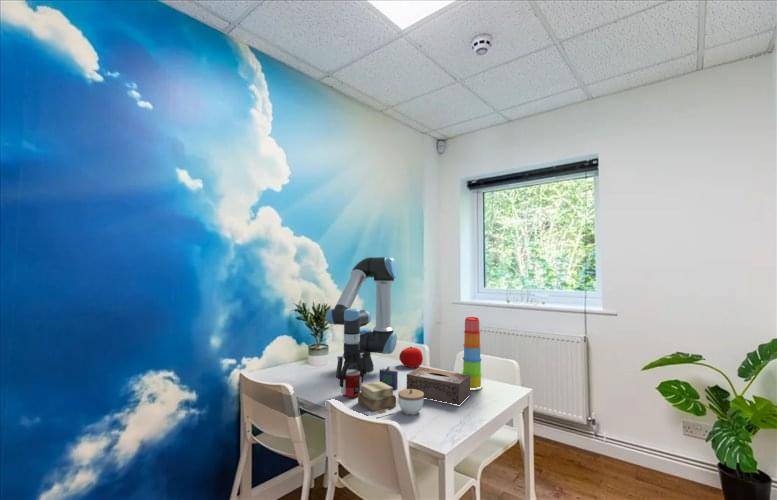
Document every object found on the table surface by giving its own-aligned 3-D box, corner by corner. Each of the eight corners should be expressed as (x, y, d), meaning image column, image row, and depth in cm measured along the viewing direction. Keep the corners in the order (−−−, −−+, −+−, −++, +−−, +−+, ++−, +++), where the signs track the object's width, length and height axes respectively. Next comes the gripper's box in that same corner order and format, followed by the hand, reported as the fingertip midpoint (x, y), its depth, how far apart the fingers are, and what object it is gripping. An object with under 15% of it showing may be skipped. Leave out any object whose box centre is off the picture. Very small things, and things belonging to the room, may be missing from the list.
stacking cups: (486, 387, 185) (485, 317, 186) (475, 392, 177) (475, 319, 178) (468, 382, 192) (468, 315, 193) (457, 387, 184) (457, 317, 185)
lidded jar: (396, 407, 158) (396, 385, 159) (421, 406, 159) (421, 384, 159) (399, 417, 148) (399, 394, 148) (426, 417, 148) (426, 393, 149)
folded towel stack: (381, 397, 169) (381, 380, 169) (396, 406, 159) (396, 387, 159) (357, 403, 162) (357, 384, 163) (372, 412, 152) (372, 393, 152)
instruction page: (384, 407, 157) (384, 407, 157) (393, 413, 152) (393, 412, 152) (363, 413, 152) (363, 412, 152) (372, 419, 146) (372, 418, 146)
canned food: (357, 399, 167) (357, 374, 167) (340, 397, 169) (340, 373, 169) (361, 393, 175) (362, 369, 175) (345, 392, 176) (345, 368, 177)
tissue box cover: (406, 395, 173) (406, 374, 173) (420, 386, 185) (420, 366, 185) (459, 407, 159) (459, 383, 160) (470, 396, 172) (470, 375, 172)
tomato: (419, 370, 212) (419, 350, 212) (397, 368, 217) (397, 348, 217) (425, 365, 223) (425, 346, 224) (403, 362, 228) (403, 344, 229)
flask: (398, 388, 182) (398, 366, 182) (396, 390, 179) (396, 368, 180) (380, 386, 185) (380, 364, 185) (378, 388, 182) (378, 366, 182)
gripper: (335, 346, 164) (334, 398, 163) (374, 341, 175) (374, 390, 174) (328, 343, 170) (327, 393, 169) (366, 338, 181) (366, 385, 181)
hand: (351, 391), depth 172 cm, fingers closed on canned food, 8 cm apart
